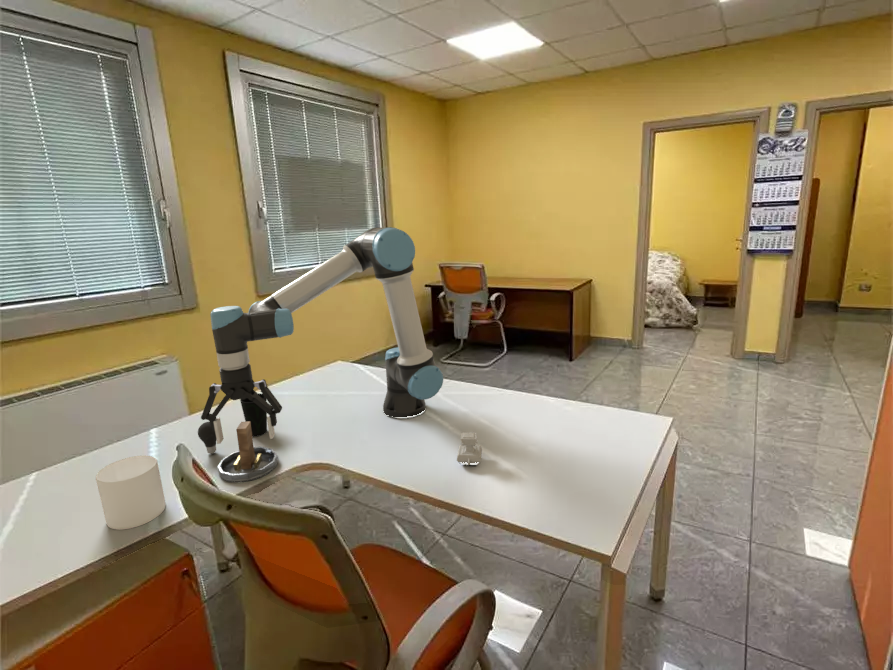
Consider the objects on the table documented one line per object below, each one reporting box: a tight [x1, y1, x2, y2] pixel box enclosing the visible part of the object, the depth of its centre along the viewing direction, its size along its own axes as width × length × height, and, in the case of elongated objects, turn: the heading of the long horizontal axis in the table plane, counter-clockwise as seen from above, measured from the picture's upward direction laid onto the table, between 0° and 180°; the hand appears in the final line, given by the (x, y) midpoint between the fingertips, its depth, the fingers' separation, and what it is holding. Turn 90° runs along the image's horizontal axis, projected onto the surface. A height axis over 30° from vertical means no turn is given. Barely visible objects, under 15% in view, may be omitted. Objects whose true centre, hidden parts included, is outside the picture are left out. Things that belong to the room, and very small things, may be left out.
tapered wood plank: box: [236, 421, 255, 469], centre depth 125 cm, size 2×4×12 cm, turn 8°
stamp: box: [456, 432, 483, 465], centre depth 126 cm, size 9×7×8 cm
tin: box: [217, 446, 279, 483], centre depth 126 cm, size 15×15×3 cm
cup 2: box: [239, 393, 268, 437], centre depth 145 cm, size 8×8×12 cm
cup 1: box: [95, 455, 166, 531], centre depth 106 cm, size 12×12×12 cm
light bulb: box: [197, 421, 217, 455], centre depth 133 cm, size 6×6×10 cm
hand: (246, 439), depth 124 cm, fingers open, 13 cm apart
